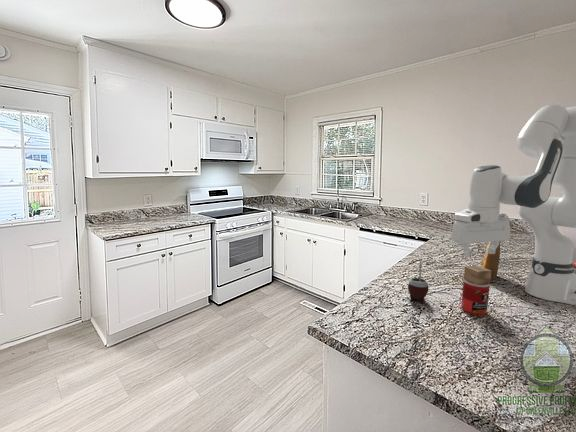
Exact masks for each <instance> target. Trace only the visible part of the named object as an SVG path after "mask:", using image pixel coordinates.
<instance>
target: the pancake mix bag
mask: <svg viewBox="0 0 576 432" xmlns="http://www.w3.org/2000/svg"><path fill="white" fill-rule="evenodd" d="M501 242H502V241H499V245H498V247H497V248H496V250H495V254H489V253H488V252H487V251H488V248H490V246H491V244H492V243H491V242H488V245H487V247H486V250H485V253H484V256H483V258H482V262H481V265H480V267H483V268H486V269H488V270H491V279H490V282H492V281H493V280H494V279H495V278H496V277H498V273H499V267H500V259H501Z"/></svg>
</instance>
